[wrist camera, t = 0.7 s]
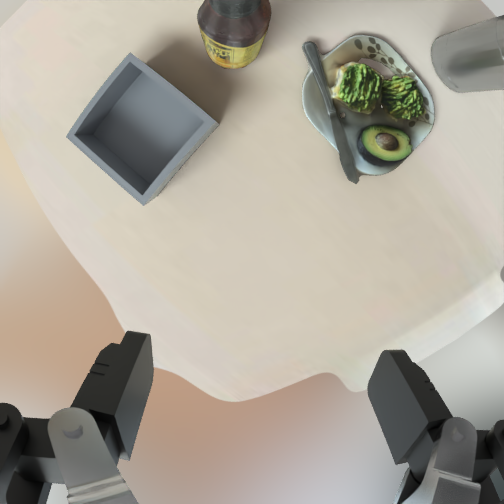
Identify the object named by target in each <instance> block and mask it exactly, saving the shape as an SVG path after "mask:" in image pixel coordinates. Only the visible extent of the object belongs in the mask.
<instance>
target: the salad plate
mask: <svg viewBox="0 0 504 504" xmlns="http://www.w3.org/2000/svg"><path fill="white" fill-rule="evenodd" d="M302 49H303V52H304V55H305V57H306V60H307V62H308V66H309V70H308V73H307V75H306V77H305V80H304V82H303V85H302V102H303V109H304V111H305V114H306V116H307V118H308V119H309V120H310V122H311V123H312V124H313V126H314V127H315V128H316V129H317V130H318V131H319V133H321V134H322V135H323V136H324V137H325V138H326V139H327V140H328V141H329V142H330V143H331V144H332V145H333V146H334V147H335V149H336V150H337V151H338V152H339V155H340V161H341V164H342V167H343V170H344V172H345V174H346V176H347V178H348V180H349V181H351V182H353V183H355V184H357V183H358V181H359V177H360V176H361V175H375V176H377V175H383V174H386V173H389V172H391V171H392V170H394V169H396V168H397V167H398V166H399V165H400V164H401V163H402V162H403V161H404V160H405V159H406V158H407V157H408V156H409V155H410V154H411V153H412V152H413V151H414V149H415V148H416V147H417V146H418V145H419V144H420V143H421V142H422V141H423V140H424V139H425V138H426V136H427V135H428V134H429V133H430V132H431V129H432V127H433V125H434V120H435V112H434V103H433V100H432V97H431V95H430V93H429V91H428V89H427V88H426V86H425V85H424V84H423V82H422V81H421V80H420V79H419V77H418V76H417V75H416V74H415V73H414V72H413V70H412V69H411V68H410V67H409V66H408V65H407V64H406V62H405V61H404V60H403V59H402V57H401V56H400V55H399V54H398V53H397V52H396V51H395V50H394V49H393V48H392V47H391V46H390V45H389V44H388V43H387V42H385V41H384V40H382V39H379V38H377V37H373V36H366V35H353V36H351V37H349V38H348V39H347V40H345V41H344V42H342V43H341V44H339V45H338V46H336V47H335V48H334V49H333V50H332V51H331V52H329V53H327V54H325V55H321V54H320V52H319V51H318V48H317V46H316V44H315V43H313V42H310V41H309V42H305V43H304V44H303V46H302ZM360 58H368V59H372V60H375V61H378V62H380V63H382V64H384V65H385V66H386V67H388V68H389V69H390V70H391V71H392V72H394V73H395V74H396V75H397V76H393V77H392V79H388V80H384V76H383V75H381V74H380V73H379V72H378V71H376V70H375V69H373V68H371V67H369V66H368V65H366V64H360V63H358V61H359V60H360ZM381 105H382V106H383V108H381ZM343 112H344V113H345V117H344V118H341V117H340V114H341V113H343Z"/></svg>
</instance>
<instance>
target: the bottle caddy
mask: <svg viewBox="0 0 504 504" xmlns="http://www.w3.org/2000/svg"><path fill="white" fill-rule="evenodd" d="M218 126H219V124H218V123H217V122H216V121H215V120H214V119H213V118H211V117H210V116H209V115H208V114H207V113H206V112H204V111H203V110H202V109H201V108H200V107H198V106H197V105H196V104H195V103H194V102H192V101H191V100H190V99H189V98H188V97H186V96H185V95H184V94H183V93H181V92H180V91H179V90H178V89H177V88H175V87H174V86H173V85H172V84H170V83H169V82H168V81H167V80H165V79H164V78H163V77H162V76H160V75H159V74H158V73H156V72H155V71H154V70H153V69H151V68H150V67H149V66H147V65H146V64H145V63H143V62H142V61H141V60H139V59H138V58H137V57H135V56H134V55H133V54H131V53H129V54H128V55H127V56H126V58H125V59H124V60H123V61H122V62H121V63H120V64H119V66H118V67H117V68H116V69H115V70H114V72H113V73H112V74H111V75H110V76H109V78H108V79H107V80H106V81H105V83H104V84H103V85H102V86H101V88H100V89H99V90H98V92H97V93H96V94H95V96H94V97H93V98H92V100H91V101H90V102H89V104H88V105H87V106H86V108H85V109H84V111H83V112H82V113H81V115H80V116H79V118H78V119H77V121H76V122H75V124H74V125H73V127H72V128H71V130H70V131H69V133H68V134H67V136H66V137H67V138H68V139H69V140H70V141H71V142H72V143H73V144H74V145H76V146H77V147H78V148H79V149H80V150H81V151H82V152H83V153H84V154H85V155H87V156H88V157H89V158H90V159H91V160H92V161H93V162H94V163H95V164H97V165H98V166H99V167H100V168H101V169H102V170H103V171H104V172H105V173H107V174H108V175H109V176H110V177H111V178H112V179H113V180H114V181H116V182H117V183H118V184H119V185H120V186H121V187H122V188H124V189H125V190H126V191H127V192H128V193H129V194H130V195H132V196H133V197H134V198H135V199H136V200H137V201H138V202H140V203H141V204H142V205H143V206H144V205H146V204H147V203H148V202H150V201H151V200H153V199H154V198H155V197H157V196H158V194H159V193H160V192H161V191H162V189H163V188H164V187H165V186H166V185H167V183H168V182H169V181H170V180H171V179H172V177H173V176H174V175H175V174H176V173H177V171H178V170H179V169H180V168H181V167H182V166H183V164H184V163H185V162H186V161H187V160H188V159H189V158H190V156H191V155H192V154H193V153H194V152H195V151H196V150H197V148H198V147H199V146H200V145H201V144H202V143H203V142H204V141H205V140H206V138H207V137H208V136H209V135H210V134H211V133H212V132H213V131H214V130H215V129H216V128H217V127H218Z"/></svg>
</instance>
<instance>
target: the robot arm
mask: <svg viewBox="0 0 504 504" xmlns="http://www.w3.org/2000/svg"><path fill="white" fill-rule="evenodd" d="M431 56H432V62H433V65H434V68H435V70H436V72H437V74H438V76H439V77H440V79H441V80H442V81H443V83H444V84H445V85H446V86H448V87H449V88H450V89H452V90H453V91H456V92H458V93H468V92H478V91H479V92H480V91H492V90H504V15H502V16H499V17H496V18H493V19H489V20H486V21H483V22H480V23H477V24H474V25H471V26H468V27H465V28H463V29H460V30H457V31H454V32H451V33H449V34H446V35H444V36H441V37H439V38H437V39H436V40H435V41H434V43H433V45H432V49H431ZM153 372H154V368H153V357H152V345H151V336H150V334H146V333H140V332H134V331H127V332H126V334H125V336H124V338H123V340H122V342H121V343H120V344H115V343H111V344H109V345H108V346H107V347H105V348H104V349H103V350H101V351H100V353H99V355H98V357H97V358H96V360H95V363H94V364H93V366H92V367H91V369H90V373H88V375H87V377H86V379H85V380H84V382H83V384H82V386H81V388H80V390H79V391H78V393H77V395H76V397H75V399H74V401H73V403H72V405H71V407H70V408H64V409H61V410H59V411H57V412H56V413H55V414H53V416H52V417H51V418H50V419H40V418H26V417H22V415H21V413H20V412H19V410H18V409H17V408H16V407H15V406H13V405H11V404H8V403H0V504H46V502H47V499H48V495H49V492H50V489H51V485H52V483H58V484H65V485H66V487H67V490H68V493H69V495H68V496H67V500H68V503H69V504H138V502H137V500H136V499H135V497H134V495H133V494H132V492H131V490H130V489H129V487H128V485H127V483H126V482H125V480H124V479H123V477H122V476H121V474H120V472H119V470H118V468H117V464H118V460H119V458H120V459H124V460H128V461H129V460H130V457H131V454H132V450H133V446H134V443H135V439H136V435H137V432H138V429H139V426H140V422H141V419H142V415H143V412H144V408H145V406H146V402H147V399H148V396H149V393H150V389H151V386H152V381H153ZM368 396H369V399H370V401H371V404H372V406H373V409H374V411H375V414H376V416H377V418H378V421H379V423H380V426H381V428H382V431H383V433H384V436H385V438H386V441H387V443H388V446H389V448H390V451H391V454H392V456H393V459H394V462H395V464H396V465H397V464H402V463H406V462H408V463H409V468H408V469H407V470H406V472H405V474H404V477H403V479H402V482H401V485H400V487H399V489H398V492H397V494H396V497H395V499H394V502H393V504H504V500H502V501H500V499H499V497H498V494H497V492H496V490H495V487H494V485H493V483H492V481H491V478H490V475H491V474H492V473H493V472H494V471H495V470H496V469H497V468H498V469H499V471H500V473H501V475H502V477H503V479H504V420H500V421H498V422H497V423H496V424H495V425H494V426H493V428H492V429H491V430H489V431H488V430H476V429H475V427H474V426H473V425H472V424H471V423H470V422H469V421H467V420H465V419H463V418H460V417H453V416H452V415H451V413H450V411H449V409H448V408H447V406H446V405H445V403H444V401H443V400H442V398H441V396H440V395H439V393H438V392H437V390H435V387H434V385H433V384H432V382H430V379H429V377H428V376H427V375H426V373H425V372H424V370H422V368H420V367H419V366H418V365H417V364H416V363H414V362H412V361H411V359H410V358H409V356H408V355H407V353H406V352H405V351H404V350H384V351H383V352H382V353H381V355H380V357H379V360H378V362H377V364H376V367H375V369H374V371H373V373H372V376H371V378H370V380H369V383H368Z"/></svg>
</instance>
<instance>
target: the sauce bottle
mask: <svg viewBox="0 0 504 504" xmlns="http://www.w3.org/2000/svg"><path fill="white" fill-rule="evenodd" d="M270 18H271V6H270V2H269V0H205V1H204V2H203V4H202V5H201V7H200V8H199V10H198V14H197V20H198V24H199V28H200V31H201V35H202V38H203V41H204V44H205V47H206V50H207V53H208V55H209V57H210V58H211V60H212V61H213V62H215V63H216V64H218V65H220V66H221V67H223V68H229V69H238V68H243V67H245V66H247V65H248V64H250V63H251V62H252V61H254V60H255V58H256V57H257V55H258V53H259V51H260V48H261V46H262V43H263V40H264V37H265V35H266V32H267V30H268V26H269V21H270Z"/></svg>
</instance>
